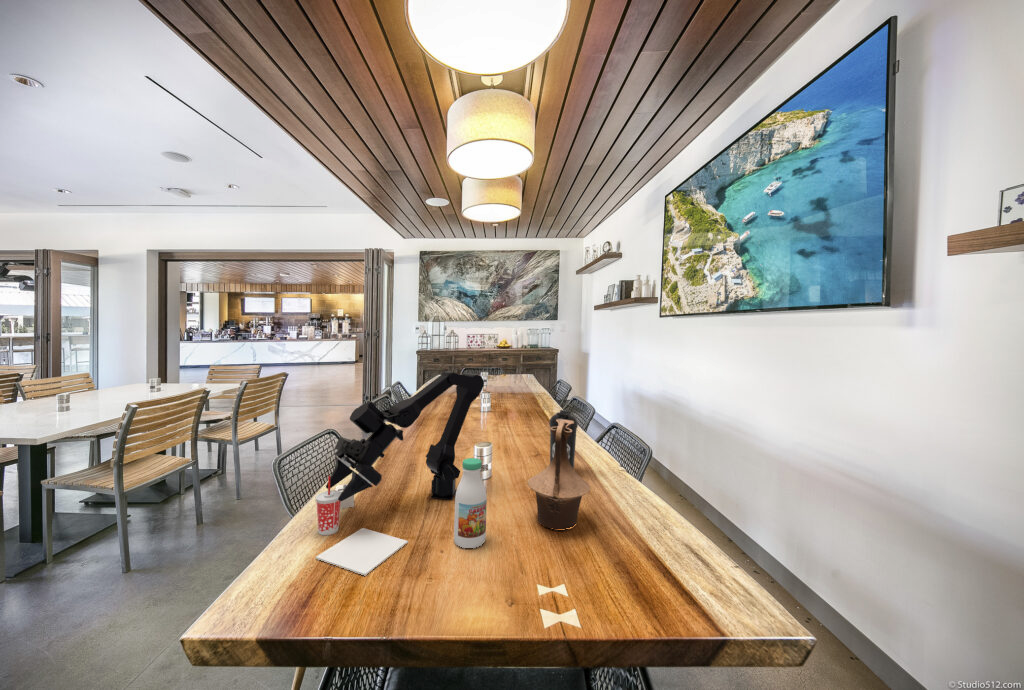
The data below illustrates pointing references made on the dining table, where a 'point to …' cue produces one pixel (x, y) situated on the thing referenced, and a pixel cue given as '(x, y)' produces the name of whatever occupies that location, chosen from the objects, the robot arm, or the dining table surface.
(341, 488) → the letter block
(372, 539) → the mat
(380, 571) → the dining table surface
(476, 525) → the milk bottle
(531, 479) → the pitcher
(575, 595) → the dining table surface
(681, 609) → the dining table surface
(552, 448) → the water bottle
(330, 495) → the beverage cup
